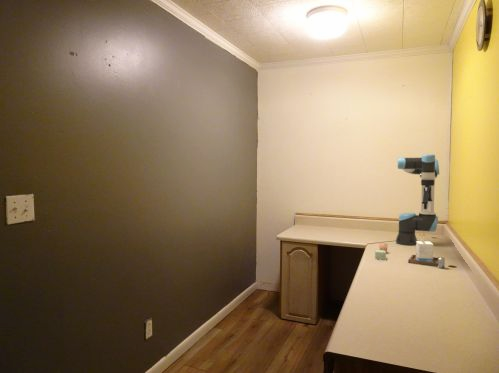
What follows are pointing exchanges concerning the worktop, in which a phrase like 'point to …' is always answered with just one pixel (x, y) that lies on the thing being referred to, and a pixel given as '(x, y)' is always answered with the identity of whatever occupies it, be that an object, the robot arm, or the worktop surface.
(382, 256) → the sage block
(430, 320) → the worktop surface
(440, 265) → the grey peg
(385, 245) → the terracotta cup
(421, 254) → the ink box
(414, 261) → the tray
